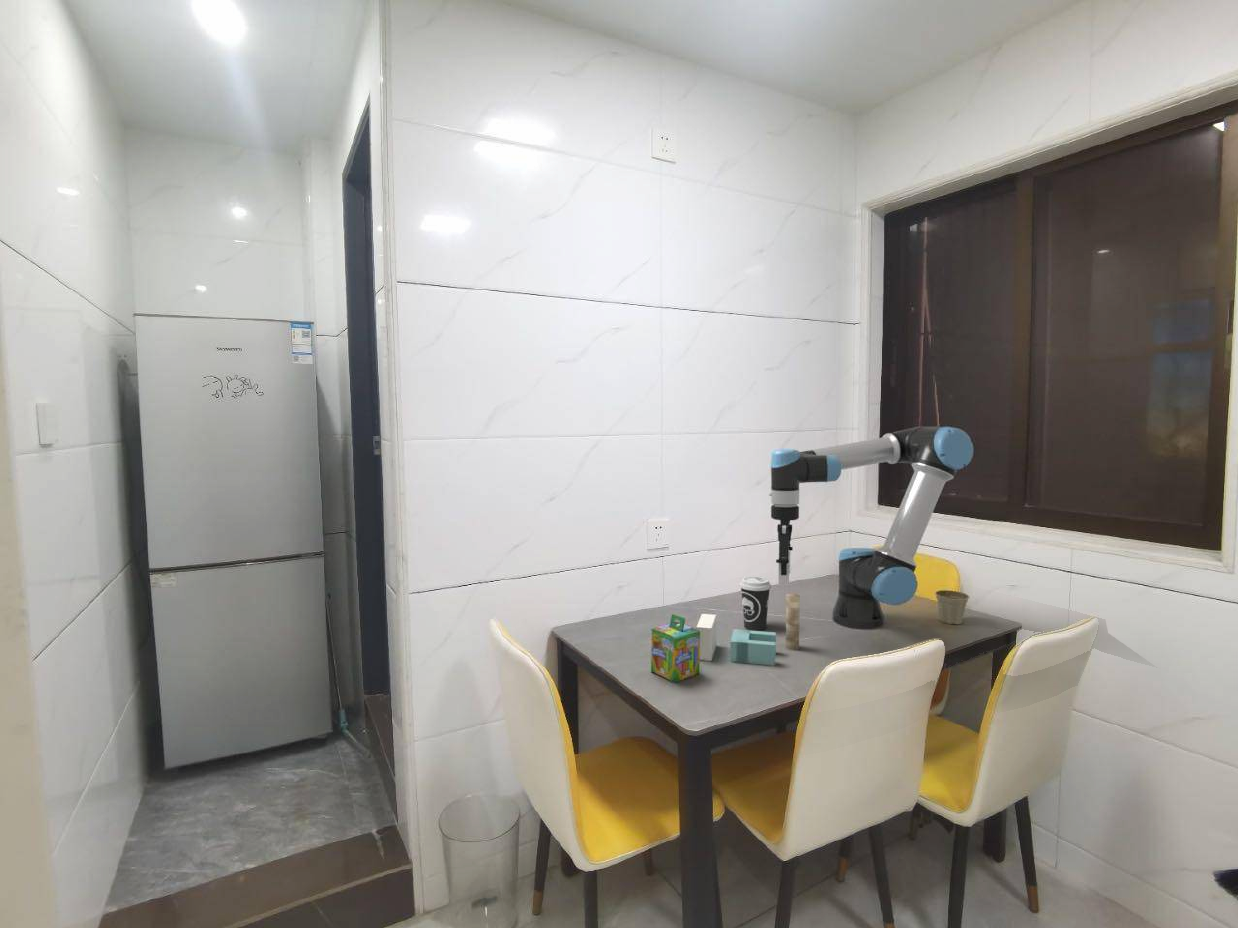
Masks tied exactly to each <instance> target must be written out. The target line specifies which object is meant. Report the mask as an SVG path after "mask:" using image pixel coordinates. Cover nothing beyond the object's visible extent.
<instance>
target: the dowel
mask: <svg viewBox="0 0 1238 928" xmlns="http://www.w3.org/2000/svg"><path fill="white" fill-rule="evenodd" d="M785 597H786V598H785V599H786V600H785V606H786V607H785V610H786V611H785V648H786V649H787V650H790V651H796V650H797V651H798V650H799V649H800V609H801V608H800V604H801V603H800V602H801V601H800V600H801V599H800V594H798V593H786V595H785Z"/></svg>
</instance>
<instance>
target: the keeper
mask: <svg viewBox="0 0 1238 928" xmlns="http://www.w3.org/2000/svg"><path fill="white" fill-rule="evenodd" d="M776 637H777V632H774V631H773V632H772V631H763V630H762V631H751V630H748V629H736V628H733V630H732V634H731V638H730V662H733V663H741V664H742V663H743V664H751V665H753V664H755V665H765V666H776V654H777V653H776V651H777V643H776V642H777V638H776Z"/></svg>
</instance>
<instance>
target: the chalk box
mask: <svg viewBox="0 0 1238 928" xmlns="http://www.w3.org/2000/svg"><path fill="white" fill-rule="evenodd" d="M669 621H670V622H669V623H667V624H663V625H660V626H657V627H654V628H651V657H650V659H651V661H650V664H651V667H650V672H652V673H654V674H657V675H658V676H660V677H662V678H664V679H666V680H669V681H670V682H673V683H674V684H676V683H678V682H681V681H683V680H686V679H688V678H691V677H693V676H696V675H699V674H700V665H701V664H700V662H701V660H700V631H699V630H697V629H696V627H692V626H690V625H687V624H685V622H686V618H685V617H683V616H681V615H677V614H674V613H673V614H671V617H670V620H669Z"/></svg>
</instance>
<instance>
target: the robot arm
mask: <svg viewBox="0 0 1238 928" xmlns="http://www.w3.org/2000/svg"><path fill="white" fill-rule="evenodd" d="M973 455H974V445H973V442H972V440H971V437H970V436H969V434H968V433H967V432H966V431H964V430H963V429H960V428H958V427H951V426H942V427H941V426H923V425H922V426H915V427H911V428H906V429H902V430H898V431H893V432H887V433H885V434H883V436H882V437H879V438H874V439H873V438H872V439H867V440H862V441H861V440H860V441H855V442H851V443H850V442H849V443H844V444H838V445H832V446H826V447H821V448H815V449H810V450H803V451H799V450H798V449H795V448H793V449H790V448H788V449H787V448H786V449H785V448H781V449H780V448H779V449H775V450H773V451H772V453H771V460H770V476H771V477H770V479H771V481H770V483H771V484H770V489H771V492H768V495H769V497H770V499H771V501H770V504H772V505H771V506H770V518H771V519H773V520H776V521H779V523H780V524H777V527H776V528H777V540H778V546H779V547H778V559H776V560H775V563H776V564H778V587H787V588H788V587H790V574H791V551H793V546H791V541H792V533H793V524H791V521H797V520H798V519H799V518H800V506H799V504H800V484H804V483H826V484H827V483H829V482H831V483H832V482H836V481H838V480H839V478H840V477H841V474H842V470H848V469H852V468H858V467H864V466H870V465H876V464H880V463H881V464H882V463H888V464H890V465H894V464H903V463H904V464H910V465H911V467H912V469H913V471H914V472H913V474H912V477H911V479H910V481H909V484H908V486H907V488H906V491H905V494H904V496H903V498H902V500H901V502H900V506H899V507H898V510H897V512H896V515H895V518H894V519H893V522H892V524H891V527H890V529H889V531H888V534H887V535H886V539H885V541H884V543H883V545H882V546H881V547H878V548H868V547H867V548H866V547H855V548H852V547H850V548H844V549H841V550H840V552H839V555H838V595H837V598H836V601H835V604H834V606H833V609H832V615H831V616H832V621H833V622H835V623H837V625H841V626H845V627H849V628H854V629H863V630H865V629H866V630H868V629H869V630H871V629H877V628H881V627H882V626H884V624H885V622H884V621H885V615H884V613H883V609H882V606H881V603H882V604H886V605H889V606H901V605H903V604H905V603H907V602H909V601H910V600H911V599H912V598H913V597H914V596H915V594H916V592H917V589H918V583H919V582H918V580H917V579H918V578H917V576H916V574H915V571H916V569H917V564H916V561H915V558H914V557H915V555H916V553H917V550H918V549H919V546H920V543H921V541H922V539H923V536H924V533H925V531H926V530H927V526H928V525H929V522H930V520H931V518H932V515H933V512H934V510H935V508H936V506H937V503H938V500H939V498H940V495H941V493H942V491H943V488H944V486H945V484H946V482H948V481H951V480H953V479H954V478H955V475H956V474H957V471H959V470H961V469H964V467H967V466H968V465H969V464H970V463H971V461H972V459H973Z"/></svg>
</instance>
